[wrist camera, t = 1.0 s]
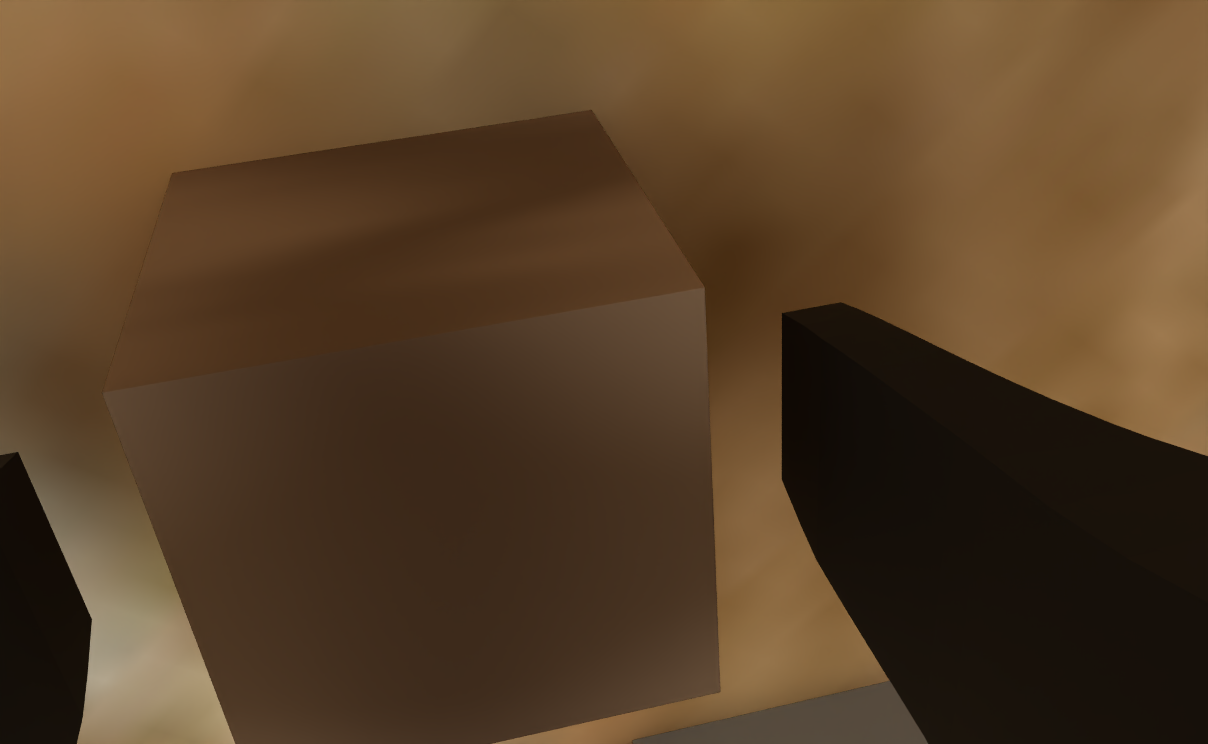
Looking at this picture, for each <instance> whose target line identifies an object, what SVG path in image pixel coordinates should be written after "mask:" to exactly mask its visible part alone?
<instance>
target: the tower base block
mask: <svg viewBox="0 0 1208 744" xmlns="http://www.w3.org/2000/svg"><path fill="white" fill-rule="evenodd" d="M633 744H928V743H927V741H926V739H925V737H924V736H923V734H922V732H921V731H920V729H919V727H918V726H917V724H916V723H915V721H914V719H913V718H912V716H911V714H910V713H909V711H908V710H907V708H906V706H905V705H904V703H903V701H902V700H901V698H900V697H899V695H898V693H897V692H896V690H895V688H894V687H893V685H892V684H891V682H890V681H887V682H883V683H879V684H874V685H870V686H866V687H861V688H857V689H853V690H848V691H844V692H840V693H835V694H831V695H827V696H822V697H818V698H814V699H809V700H805V701H801V702H796V703H792V704H788V705H783V706H779V707H775V708H770V709H766V710H762V711H757V712H753V713H749V714H744V715H740V716H736V717H731V718H727V719H723V720H718V721H714V722H710V723H705V724H701V725H697V726H692V727H688V728H684V729H679V730H675V731H671V732H666V733H662V734H658V735H653V736H649V737H645V738H640V739H636V740H633Z"/></svg>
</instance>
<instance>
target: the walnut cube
mask: <svg viewBox="0 0 1208 744" xmlns="http://www.w3.org/2000/svg"><path fill="white" fill-rule="evenodd" d="M102 394H103V397H104V400H105V402H106V405H107V407H108V410H109V413H110V415H111V418H112V421H113V423H114V426H115V428H116V431H117V434H118V436H119V439H120V442H121V444H122V447H123V450H124V452H125V455H126V457H127V460H128V463H129V465H130V468H131V471H132V473H133V476H134V478H135V481H136V484H137V486H138V489H139V492H140V494H141V497H142V499H143V502H144V505H145V507H146V510H147V513H148V515H149V518H150V520H151V523H152V526H153V528H154V531H155V534H156V536H157V539H158V542H159V544H160V547H161V549H162V552H163V555H164V557H165V560H166V563H167V565H168V568H169V570H170V573H171V576H172V578H173V581H174V584H175V586H176V589H177V591H178V594H179V597H180V599H181V602H182V605H183V607H184V610H185V613H186V615H187V618H188V620H189V623H190V626H191V628H192V631H193V634H194V636H195V639H196V641H197V644H198V647H199V649H200V652H201V655H202V657H203V660H204V662H205V665H206V668H207V670H208V673H209V676H210V678H211V681H212V683H213V686H214V689H215V691H216V694H217V697H218V699H219V702H220V705H221V707H222V710H223V712H224V715H225V718H226V720H227V723H228V726H229V728H230V731H231V733H232V736H233V739H234V741H235V744H492V743H496V742H501V741H505V740H510V739H514V738H518V737H523V736H527V735H532V734H536V733H541V732H545V731H550V730H554V729H558V728H563V727H567V726H572V725H576V724H581V723H585V722H590V721H594V720H598V719H603V718H607V717H612V716H616V715H621V714H625V713H630V712H634V711H639V710H643V709H647V708H652V707H656V706H661V705H665V704H670V703H674V702H679V701H683V700H687V699H692V698H696V697H701V696H705V695H710V694H714V693H719V692H720V669H719V643H718V617H717V591H716V566H715V540H714V514H713V488H712V463H711V437H710V411H709V385H708V360H707V334H706V308H705V287H704V286H703V284H702V283H701V281H700V279H699V278H698V276H697V275H696V273H695V272H694V270H693V268H692V267H691V265H690V264H689V262H688V261H687V259H686V257H685V256H684V254H683V253H682V251H681V250H680V248H679V247H678V245H677V243H676V242H675V240H674V239H673V237H672V236H671V234H670V232H669V231H668V229H667V228H666V226H665V225H664V223H663V221H662V220H661V218H660V217H659V215H658V214H657V212H656V210H655V209H654V207H653V206H652V204H651V203H650V201H649V200H648V198H647V196H646V195H645V193H644V192H643V190H642V189H641V187H640V185H639V184H638V182H637V181H636V179H635V178H634V176H633V174H632V173H631V171H630V170H629V168H628V167H627V165H626V163H625V162H624V160H623V159H622V157H621V156H620V154H619V153H618V151H617V149H616V148H615V146H614V145H613V143H612V142H611V140H610V138H609V137H608V135H607V134H606V132H605V131H604V129H603V127H602V126H601V124H600V123H599V121H598V120H597V118H596V117H595V115H594V113H593V112H592V110H589V111H583V112H576V113H569V114H563V115H556V116H549V117H543V118H536V119H529V120H523V121H516V122H509V123H503V124H496V125H489V126H483V127H476V128H469V129H463V130H456V131H449V132H443V133H436V134H430V135H423V136H416V137H410V138H403V139H396V140H390V141H383V142H376V143H370V144H363V145H356V146H350V147H343V148H336V149H330V150H323V151H316V152H310V153H303V154H296V155H290V156H283V157H277V158H270V159H263V160H257V161H250V162H243V163H237V164H230V165H223V166H217V167H210V168H203V169H197V170H190V171H183V172H177V173H172V175H171V178H170V181H169V185H168V188H167V191H166V194H165V197H164V200H163V203H162V206H161V210H160V213H159V216H158V219H157V222H156V225H155V228H154V231H153V235H152V238H151V241H150V244H149V247H148V250H147V253H146V256H145V260H144V263H143V266H142V269H141V272H140V275H139V278H138V281H137V285H136V288H135V291H134V294H133V297H132V300H131V303H130V306H129V310H128V313H127V316H126V319H125V322H124V325H123V328H122V332H121V335H120V338H119V341H118V344H117V347H116V350H115V353H114V357H113V360H112V363H111V366H110V369H109V372H108V375H107V378H106V382H105V385H104V388H103V391H102Z"/></svg>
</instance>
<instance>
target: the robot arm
mask: <svg viewBox="0 0 1208 744" xmlns="http://www.w3.org/2000/svg"><path fill="white" fill-rule="evenodd" d="M782 481H783V483H784V486H785V488H786V491H787V493H788V495H789V498H790V500H791V503H792V505H793V507H794V510H795V512H796V515H797V517H798V520H799V522H800V524H801V527H802V529H803V531H804V533H805V535H806V538H807V540H808V542H809V544H810V547H811V549H812V551H813V553H814V555H815V558H816V560H817V562H818V563H819V565H820V567H821V568H822V570H823V572H824V574H825V575H826V577H827V579H828V580H829V582H830V584H831V585H832V587H833V589H834V590H835V592H836V594H837V595H838V597H839V599H840V600H841V602H842V604H843V605H844V607H845V609H846V610H847V612H848V614H849V615H850V617H851V618H852V620H853V622H854V623H855V625H856V627H857V628H858V630H859V632H860V633H861V635H862V636H863V638H864V640H865V641H866V643H867V645H868V646H869V648H870V649H871V651H872V653H873V654H874V656H875V658H876V659H877V661H878V662H879V664H880V666H881V667H882V669H883V671H884V672H885V674H886V675H887V677H888V679H889V680H890V682H891V684H892V685H893V687H894V688H895V690H896V692H897V693H898V695H899V697H900V698H901V700H902V701H903V703H904V705H905V706H906V708H907V710H908V711H909V713H910V714H911V716H912V718H913V719H914V721H915V723H916V724H917V726H918V727H919V729H920V731H921V732H922V734H923V736H924V737H925V739H926V741H927V743H928V744H1208V456H1205V455H1202V454H1199V453H1196V452H1193V451H1190V450H1187V449H1184V448H1180V447H1177V446H1174V445H1171V444H1168V443H1165V442H1162V441H1159V440H1156V439H1153V438H1150V437H1147V436H1144V435H1142V434H1139V433H1136V432H1133V431H1131V430H1128V429H1125V428H1122V427H1120V426H1117V425H1114V424H1112V423H1109V422H1107V421H1104V420H1102V419H1099V418H1097V417H1094V416H1092V415H1089V414H1087V413H1085V412H1082V411H1080V410H1077V409H1075V408H1072V407H1070V406H1067V405H1065V404H1062V403H1060V402H1057V401H1055V400H1052V399H1050V398H1048V397H1045V396H1043V395H1041V394H1039V393H1036V392H1034V391H1032V390H1030V389H1027V388H1025V387H1023V386H1020V385H1018V384H1016V383H1014V382H1012V381H1009V380H1007V379H1005V378H1003V377H1001V376H998V375H996V374H994V373H992V372H990V371H988V370H986V369H983V368H981V367H979V366H977V365H975V364H973V363H971V362H969V361H966V360H964V359H962V358H960V357H958V356H956V355H954V354H952V353H950V352H948V351H946V350H944V349H942V348H939V347H937V346H935V345H933V344H931V343H929V342H927V341H925V340H923V339H921V338H919V337H917V336H915V335H913V334H911V333H909V332H907V331H904V330H902V329H900V328H898V327H896V326H894V325H892V324H890V323H888V322H886V321H884V320H881V319H879V318H877V317H875V316H873V315H870V314H868V313H866V312H864V311H861V310H859V309H857V308H854V307H851V306H849V305H846V304H844V303H835V304H830V305H824V306H819V307H813V308H808V309H802V310H797V311H791V312H786V313H782ZM91 623H92V619H91V616H90V614H89V612H88V610H87V607H86V605H85V603H84V600H83V598H82V596H81V594H80V591H79V589H78V587H77V585H76V582H75V580H74V578H73V576H72V573H71V571H70V569H69V567H68V564H67V562H66V560H65V557H64V555H63V553H62V551H61V548H60V546H59V544H58V542H57V539H56V537H55V535H54V533H53V530H52V528H51V526H50V523H49V521H48V519H47V517H46V514H45V512H44V510H43V508H42V505H41V503H40V501H39V499H38V496H37V494H36V492H35V490H34V487H33V485H32V483H31V480H30V478H29V476H28V474H27V471H26V469H25V467H24V465H23V462H22V460H21V458H20V456H19V453H18V452H16V453H10V454H5V455H0V744H77V740H78V736H79V731H80V727H81V723H82V718H83V710H84V701H85V692H86V683H87V674H88V662H89V649H90V636H91Z"/></svg>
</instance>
